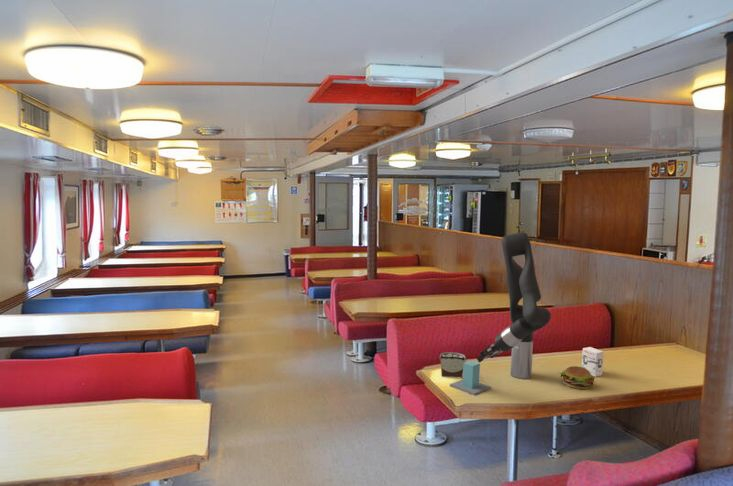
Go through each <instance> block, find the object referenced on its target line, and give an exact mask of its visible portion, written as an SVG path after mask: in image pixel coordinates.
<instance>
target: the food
mask: <svg viewBox="0 0 733 486" xmlns="http://www.w3.org/2000/svg"><path fill="white" fill-rule="evenodd" d="M559 374H560V378H562V379H563V381H562V382H563V384H564V385H565V386H567V387H569V388H573V389H576V390H587V389H588V390H589V389H591V387H592V386H593V385H594V382H595V379H596V377H594V376H593V375H591V373H590V372H589V371H588V370H587V369H585V368H582V367H581V366H575V365H574V366H568V367H567V368H565V369H564V370H562V371H561V372H559Z"/></svg>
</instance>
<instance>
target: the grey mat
mask: <svg viewBox="0 0 733 486" xmlns="http://www.w3.org/2000/svg"><path fill="white" fill-rule="evenodd" d="M449 387H451V388H453V389H457V390H459V391H461V392H465V393H467V394H469V395H473V396H476V395H478V394H480V393H483V392H485V391H488V390H490V389H492V386H490V385H487V384H484V383H482V382H479V386H477V387H475V388H472V389H471V388H469V387H466V386H463V379H461V380H458V381H455V382H452V383H449Z"/></svg>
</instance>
